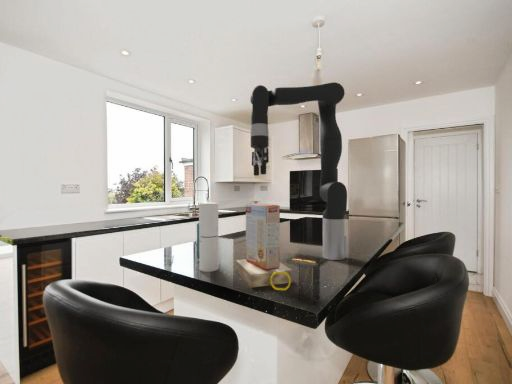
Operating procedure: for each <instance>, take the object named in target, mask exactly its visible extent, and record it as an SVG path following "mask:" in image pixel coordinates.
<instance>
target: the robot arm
mask: <svg viewBox="0 0 512 384" xmlns="http://www.w3.org/2000/svg"><path fill="white" fill-rule="evenodd" d="M345 93H346V92H345V89H344V87H343V85H342V84H341V83H338V82H336V81H335V82H327V83H323V84H317V85H309V86H298V87H296V86H293V87H285V86H284V87H282V86H281V87H276V88H274V89H272V90H268V88H267V86H264V85H262V84H258V85H257V86H255V87H253V90H252V91H251V94H250V98H249V99H250V103H251V105H252V106H251V107H252V109H251V110H252V111H251V113H250V114H251V115H250V117H251V118H250V119H251V120H250V124H251V125H250V148H252V149H254V151H251V166H252V167H253V176H260V175H266V174H267V164H269V162H270V161H269V157H270V156H269V146H270V145H269V144H270V143H269V140H270V139H269V133H270V132H269V116H268V114H269V112H268V111H269V107H274V106H292V105H298V104H303V103H308V102H317V107H318V114H319V150H320V180H319V182H320V183H319V196H320V198H321V199H322V201H323V202H325V203H326V207H325V210H323V212H322V258H323V259H325V260H328V261H329V260H331V261H342V260H344V259H347V258H348V255H347V250H348V249H347V246H348V245H347V238H348V237H347V235H345V231H346V230H345V229H346V228H345V218H346V216H345V215H346V213H347V210H348V209H347V208H348V191H347V187H346V185H345V184H344V182H343V183H342V182H341V181H338V180H337V169H338V166H339V163H340V160H341V156H342V151H343V141H342V140H343V139H342V133H341V130H340V127H339V125H338V123H337V117H336V116H337V114H336V111H337V105H338V104H339V103H340V102H342V100H343V99H344V96H345Z"/></svg>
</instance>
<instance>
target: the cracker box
mask: <svg viewBox="0 0 512 384" xmlns="http://www.w3.org/2000/svg"><path fill="white" fill-rule="evenodd" d="M280 211H281V209H280V205H278V204H268V203H267V204H266V203H248V204H247V203H246V204H245V259H246V261H248V262H250V263H252V264H254V265H257V266H259V267H261V268H263V269H265V270H267V269H274V268H279V267H280V263H281V262H280V255H281V254H280V253H281V251H280V250H281V249H280V241H281V237H280V234H281V233H280V231H281V229H280V226H281V225H280V224H281V223H280V221H281V217H280V215H281V213H280Z"/></svg>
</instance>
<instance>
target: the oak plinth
mask: <svg viewBox="0 0 512 384" xmlns="http://www.w3.org/2000/svg"><path fill="white" fill-rule="evenodd" d="M277 269H284V270H285V272H286V273H288V275H289V276H290V280H291V283H293V269H292V268H290V267H288V266H287V265H285V264H283V263H282V262H280V267H279V268H274V269H267V270H265V269H263V268H261V267H259V266H257V265H254V264H252V263H250V262H248V261H246V258H244V259H236V260H235V271H236V273H237V275H239V276H240V277H241V278H242V279H243V280H244V281H245V283H246V284H247V285H248V286H249V287H250V288H258V287H268V286H271V283H270V279H271V276H272V274H273V273H274V272H276V270H277ZM272 282H273V285H274V286H275V285H283V284H289V279H288V277H287V275H285V274H284V273H283V274H277V273H276V274H275V275H274V276H273V277H272ZM291 283H290V284H291Z"/></svg>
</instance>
